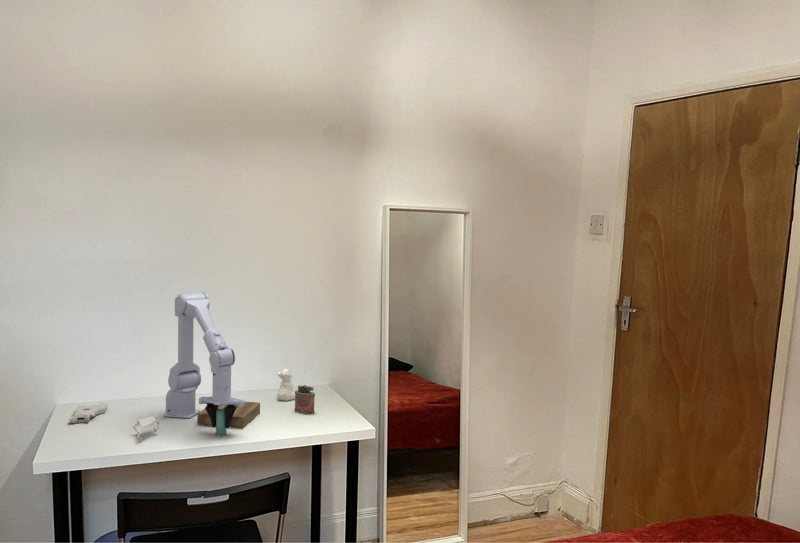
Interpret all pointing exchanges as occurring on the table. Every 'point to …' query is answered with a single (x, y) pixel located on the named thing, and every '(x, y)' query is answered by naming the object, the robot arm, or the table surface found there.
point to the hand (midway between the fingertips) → (221, 426)
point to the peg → (220, 422)
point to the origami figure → (146, 424)
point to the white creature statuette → (285, 386)
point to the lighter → (304, 400)
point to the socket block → (239, 417)
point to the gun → (87, 412)
